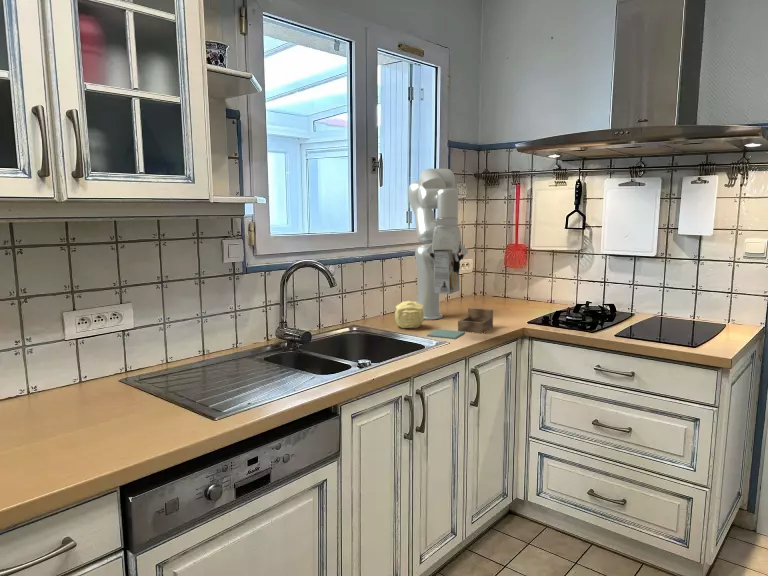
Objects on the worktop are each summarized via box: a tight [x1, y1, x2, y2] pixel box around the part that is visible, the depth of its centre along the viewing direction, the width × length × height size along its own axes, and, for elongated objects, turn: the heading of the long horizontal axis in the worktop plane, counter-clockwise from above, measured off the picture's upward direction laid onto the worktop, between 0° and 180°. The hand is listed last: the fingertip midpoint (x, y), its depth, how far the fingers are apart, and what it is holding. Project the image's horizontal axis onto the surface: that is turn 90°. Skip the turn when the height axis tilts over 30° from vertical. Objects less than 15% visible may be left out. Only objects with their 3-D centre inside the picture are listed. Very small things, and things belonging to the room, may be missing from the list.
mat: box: [426, 328, 466, 340], centre depth 211 cm, size 11×11×1 cm
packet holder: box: [457, 307, 494, 334], centre depth 220 cm, size 10×13×7 cm
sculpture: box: [394, 300, 424, 329], centre depth 224 cm, size 11×12×11 cm
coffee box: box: [433, 250, 460, 295], centre depth 207 cm, size 9×6×16 cm
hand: (446, 271), depth 208 cm, fingers closed on coffee box, 6 cm apart
